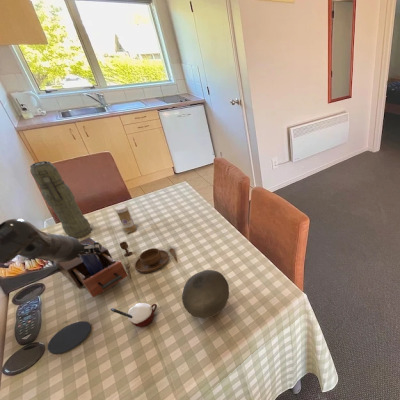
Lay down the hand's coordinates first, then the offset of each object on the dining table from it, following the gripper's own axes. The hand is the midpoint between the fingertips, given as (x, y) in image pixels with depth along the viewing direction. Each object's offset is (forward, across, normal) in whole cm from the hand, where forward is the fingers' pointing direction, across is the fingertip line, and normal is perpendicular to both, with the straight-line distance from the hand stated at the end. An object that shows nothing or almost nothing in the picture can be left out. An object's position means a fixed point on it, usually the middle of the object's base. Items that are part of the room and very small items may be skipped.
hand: (91, 253), depth 93 cm
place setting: (+13, -14, +4) cm, 20 cm away
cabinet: (+14, +7, +4) cm, 16 cm away
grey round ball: (-11, -38, +29) cm, 49 cm away
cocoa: (-9, -18, +27) cm, 34 cm away
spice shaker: (+5, 0, +7) cm, 9 cm away
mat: (-8, +2, +26) cm, 27 cm away
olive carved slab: (+35, +20, -17) cm, 44 cm away
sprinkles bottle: (+30, -2, -12) cm, 33 cm away
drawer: (+6, -1, +10) cm, 12 cm away
